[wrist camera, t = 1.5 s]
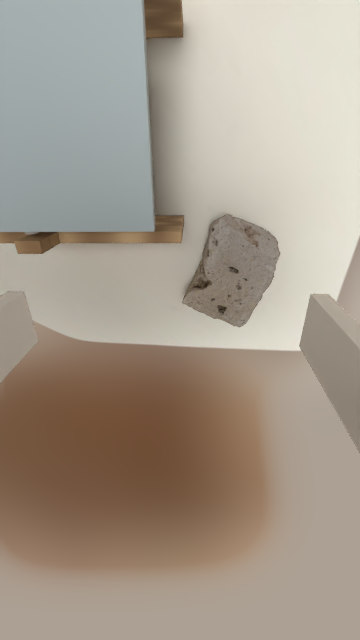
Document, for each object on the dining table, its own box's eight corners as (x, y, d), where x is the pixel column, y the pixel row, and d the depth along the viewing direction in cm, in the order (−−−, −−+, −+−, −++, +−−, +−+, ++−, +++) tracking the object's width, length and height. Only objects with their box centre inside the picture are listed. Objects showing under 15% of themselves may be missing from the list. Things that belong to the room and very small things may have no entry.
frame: (41, 224, 34) (-31, 253, 23) (-5, 27, 26) (-152, -75, 15) (183, 224, 33) (179, 253, 22) (183, 21, 25) (175, -90, 14)
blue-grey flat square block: (14, 221, 28) (-27, 234, 23) (-42, 18, 21) (-120, -30, 16) (161, 220, 27) (154, 234, 22) (153, 12, 21) (139, -40, 15)
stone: (178, 311, 39) (250, 320, 39) (179, 329, 33) (262, 339, 34) (193, 208, 34) (275, 220, 34) (197, 210, 28) (294, 224, 29)
